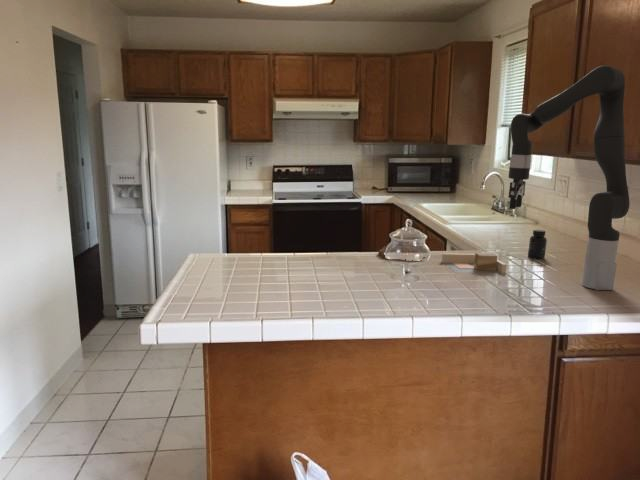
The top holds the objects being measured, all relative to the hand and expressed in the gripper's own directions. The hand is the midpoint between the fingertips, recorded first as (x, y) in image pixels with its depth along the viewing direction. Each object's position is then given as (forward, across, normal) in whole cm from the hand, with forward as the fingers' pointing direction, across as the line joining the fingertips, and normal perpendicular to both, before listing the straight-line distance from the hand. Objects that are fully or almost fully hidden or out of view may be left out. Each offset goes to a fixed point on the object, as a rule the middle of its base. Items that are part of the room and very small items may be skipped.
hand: (515, 207), depth 207 cm
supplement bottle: (+23, +20, -6) cm, 31 cm away
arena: (+23, -18, +9) cm, 31 cm away
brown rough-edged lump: (+24, -16, +40) cm, 49 cm away
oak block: (+22, -18, +4) cm, 29 cm away
